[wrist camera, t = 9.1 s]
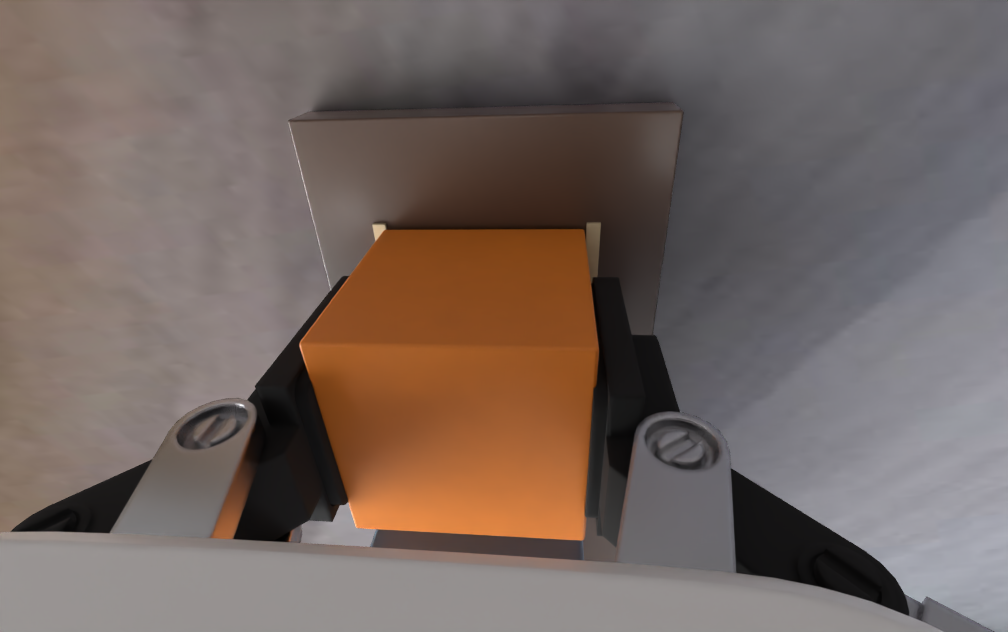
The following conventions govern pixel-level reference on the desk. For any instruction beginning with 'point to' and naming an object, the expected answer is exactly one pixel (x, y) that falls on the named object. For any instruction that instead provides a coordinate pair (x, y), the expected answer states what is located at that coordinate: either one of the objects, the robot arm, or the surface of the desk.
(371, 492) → the orange cube
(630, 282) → the tray of colored blocks
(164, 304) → the desk surface
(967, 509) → the desk surface
